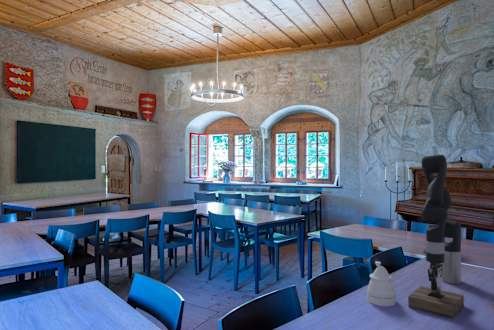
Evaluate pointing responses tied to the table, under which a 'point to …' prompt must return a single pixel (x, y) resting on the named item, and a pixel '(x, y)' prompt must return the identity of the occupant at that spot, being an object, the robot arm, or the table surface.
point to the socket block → (436, 302)
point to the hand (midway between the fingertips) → (435, 288)
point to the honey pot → (381, 287)
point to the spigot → (438, 292)
